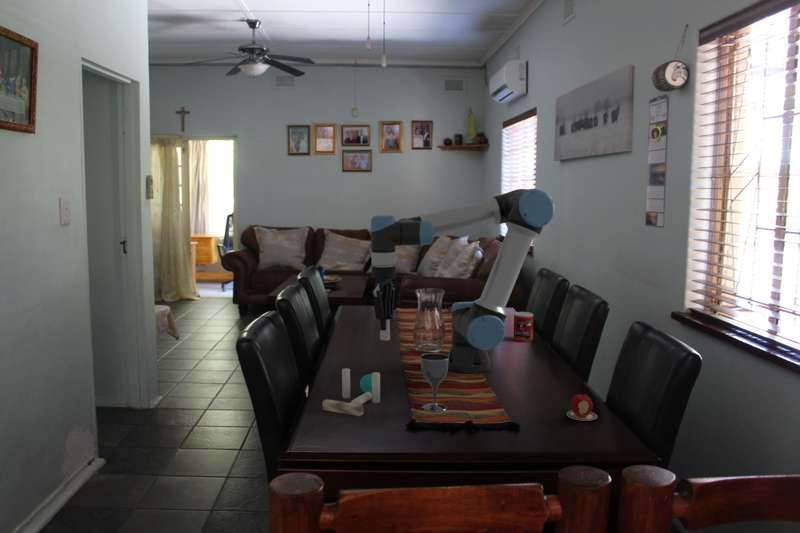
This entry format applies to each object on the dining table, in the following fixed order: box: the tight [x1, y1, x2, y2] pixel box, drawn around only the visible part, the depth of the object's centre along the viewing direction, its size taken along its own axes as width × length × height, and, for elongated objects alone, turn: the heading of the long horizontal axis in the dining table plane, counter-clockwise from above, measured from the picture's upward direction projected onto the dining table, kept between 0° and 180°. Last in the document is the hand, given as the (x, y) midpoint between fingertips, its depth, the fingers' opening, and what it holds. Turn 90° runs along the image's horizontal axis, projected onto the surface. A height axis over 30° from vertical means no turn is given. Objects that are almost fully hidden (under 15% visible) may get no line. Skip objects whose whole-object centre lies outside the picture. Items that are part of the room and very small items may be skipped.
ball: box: [359, 373, 372, 394], centre depth 197 cm, size 6×6×6 cm
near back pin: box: [371, 371, 381, 404], centre depth 190 cm, size 2×2×8 cm
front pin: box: [350, 392, 372, 405], centre depth 189 cm, size 2×2×8 cm
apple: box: [566, 393, 598, 422], centre depth 177 cm, size 8×8×6 cm
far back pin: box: [341, 367, 351, 399], centre depth 194 cm, size 2×2×8 cm
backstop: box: [322, 399, 364, 417], centre depth 182 cm, size 12×2×2 cm, turn 65°
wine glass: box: [420, 352, 449, 413], centre depth 184 cm, size 8×8×15 cm
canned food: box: [513, 311, 534, 343], centre depth 264 cm, size 8×8×11 cm
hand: (385, 339), depth 205 cm, fingers closed
